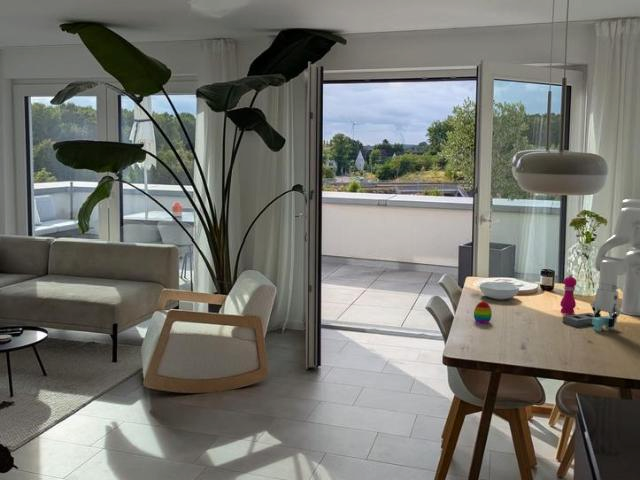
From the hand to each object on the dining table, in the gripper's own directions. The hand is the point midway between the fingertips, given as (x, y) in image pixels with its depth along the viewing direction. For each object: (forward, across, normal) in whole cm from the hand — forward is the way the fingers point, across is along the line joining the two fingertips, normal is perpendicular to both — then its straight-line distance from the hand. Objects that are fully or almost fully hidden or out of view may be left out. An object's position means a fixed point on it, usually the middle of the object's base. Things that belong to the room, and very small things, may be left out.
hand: (604, 324), depth 302 cm
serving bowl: (+3, +66, +4) cm, 66 cm away
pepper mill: (+3, +28, -7) cm, 29 cm away
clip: (+2, 0, 0) cm, 2 cm away
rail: (+2, +12, 0) cm, 12 cm away
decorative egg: (+3, +31, +45) cm, 55 cm away
